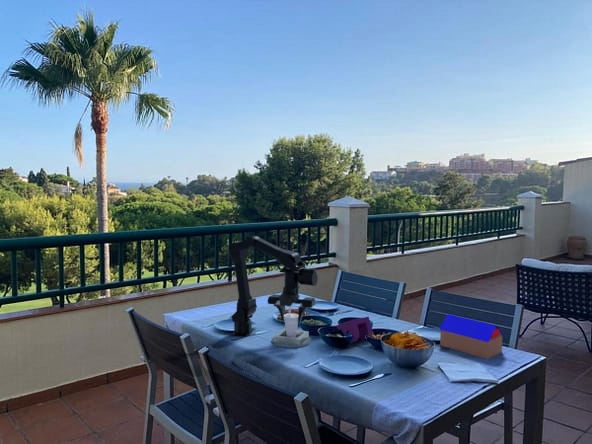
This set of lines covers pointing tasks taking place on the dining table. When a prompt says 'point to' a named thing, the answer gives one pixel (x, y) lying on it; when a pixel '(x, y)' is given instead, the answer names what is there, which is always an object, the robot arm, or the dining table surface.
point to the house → (471, 336)
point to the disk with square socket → (292, 339)
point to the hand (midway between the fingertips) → (291, 321)
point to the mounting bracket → (356, 328)
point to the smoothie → (291, 323)
